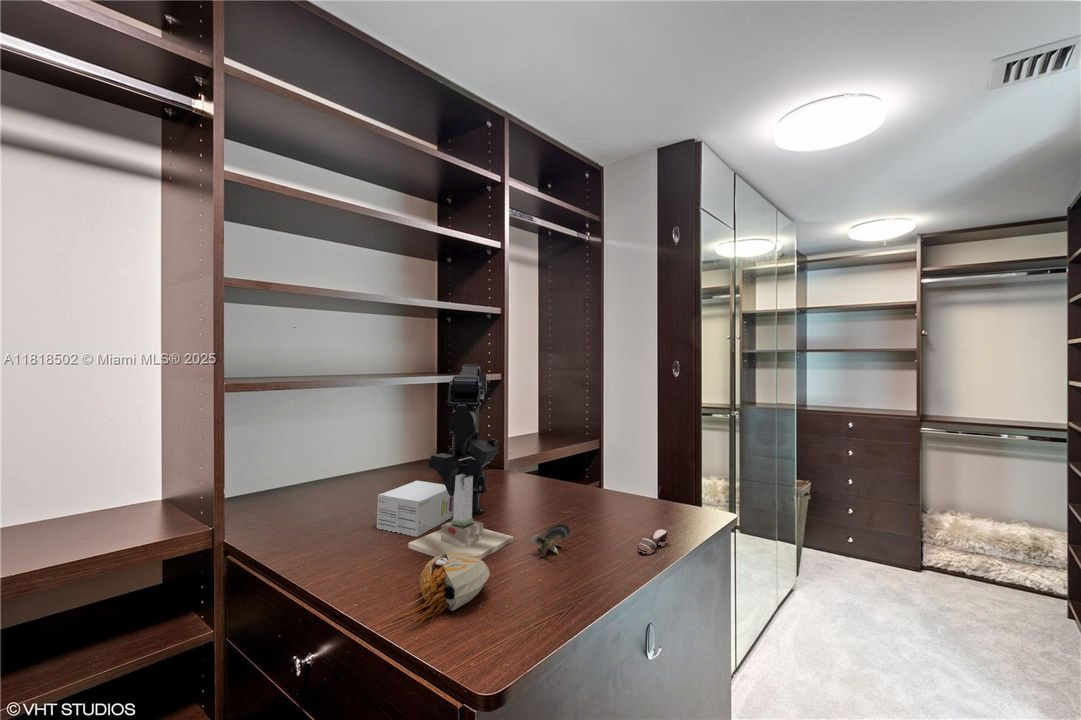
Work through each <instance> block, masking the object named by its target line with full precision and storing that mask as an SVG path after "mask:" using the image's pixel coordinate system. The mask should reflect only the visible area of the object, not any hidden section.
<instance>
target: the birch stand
mask: <svg viewBox="0 0 1081 720" xmlns="http://www.w3.org/2000/svg"><path fill="white" fill-rule="evenodd" d="M511 542H512V543H514V536H512V535H509V534H505V533H501V532H497V531H493V530H490V529H487V528H484V523H483V522H481V521H476V520H473V523H471V524H469V525H467V526H464V527H461V526H457V525H454V524H452V520H451V521H449V522H446V523H444V524H442V525H441V524H440V529H439V530H437V531H434V532H432V533H429V534H427V535H424V536H422V537H419V538H417V539H415V540H412V541H410V542H408V543H407V545H408V546H407V547H408V549H410V550H413V551H416V552H419V553H421V554H425V555H428V556H431V557H433V558H435V557H437V556H439V555H441V554H444V553H447V552H463V553H467V554H470V555H474V556H476V557H478V558H479V559H481V560H482V559H484V558H485V557H488V556H489V555H492V554H493V553H495V552H497V551H499V550H501V549H502V548H504V547H506V546H508V545H510V544H511ZM509 543H510V544H509ZM507 544H508V545H507ZM505 545H506V546H505ZM500 548H501V549H500Z"/></svg>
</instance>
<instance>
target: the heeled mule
mask: <svg viewBox="0 0 1081 720" xmlns="http://www.w3.org/2000/svg"><path fill="white" fill-rule="evenodd" d="M667 536H668V529H665V528H659V529H657V530H655V532H653V533H652V534H651V535H650V537H648V538H646V537H645V538H642V539H641V540H640V542H639V543H638V545H644V546H645V547H647V548H649V549H650V550H651V551H652V550H654V549H655V550H656V549H657V547H658V545H657V544H658V543H659V541H660V542H665V541H666V542H667ZM638 545H637V551H638V550H640V551H643V552H647V551H644V550H641V549H640V548H639V546H638Z"/></svg>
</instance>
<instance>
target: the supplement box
mask: <svg viewBox="0 0 1081 720" xmlns="http://www.w3.org/2000/svg"><path fill="white" fill-rule="evenodd" d="M376 506H377V507H376V509H377V510H376V529H378V530H382V529H383V530H382V531H386V530H387V532H391V531H392V533H395V532H397V533H396V534H400V533H402V534H401V535H405V534H406V535H405V536H409V535H410V537H414V536H415V537H414V538H417V537H419V536H421V535H424V534H425V533H427V532H429V531H430V529H431V530H432V529H435V528H436V527H438V526H441V524H443V523H445V522H447V521H449V520H450V519H452V518H453V506H454V496H450V495H449V493H448V491H447V489H446V487H445V485H444V483H435V482H430V481H429V482H428V481H422V480H414V481H411V482H410V483H406V484H404V485H401V486H399V487H396V488H393V489H390V490H388V491H385V492H382V493H380V494H379V493H378V494H377V505H376ZM451 517H452V518H451ZM448 519H449V520H448ZM446 520H447V521H446ZM428 530H429V531H428Z"/></svg>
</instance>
